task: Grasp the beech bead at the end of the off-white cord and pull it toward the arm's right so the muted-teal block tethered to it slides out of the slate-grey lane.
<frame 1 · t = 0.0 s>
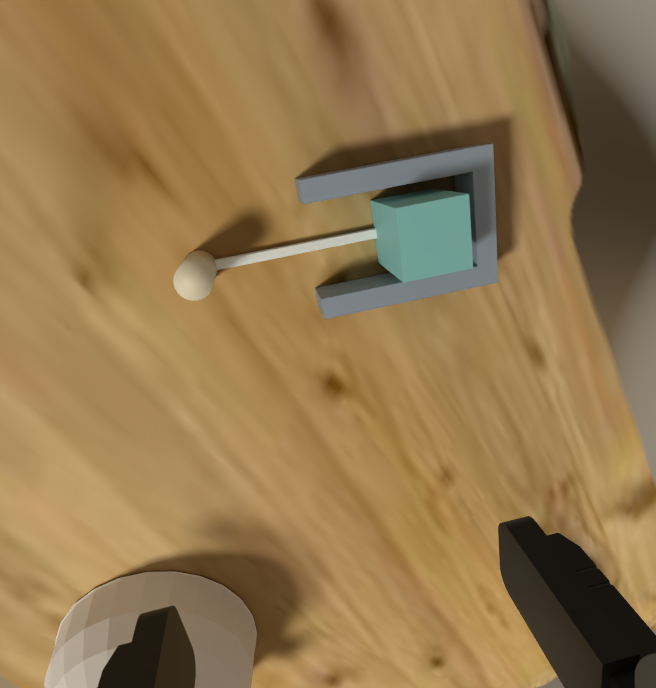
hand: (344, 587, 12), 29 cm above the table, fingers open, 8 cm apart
tethered block: (404, 226, 38), on the table
lane: (392, 228, 38), on the table
kettle: (161, 640, 51), on the table
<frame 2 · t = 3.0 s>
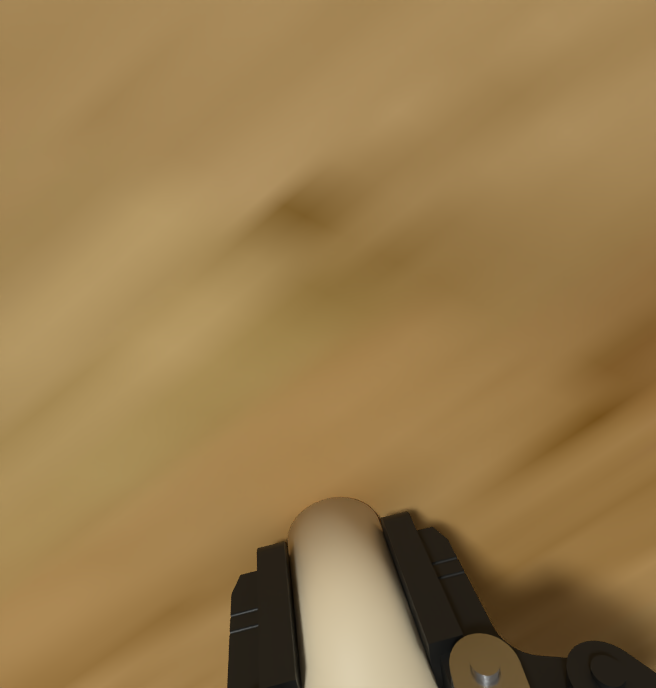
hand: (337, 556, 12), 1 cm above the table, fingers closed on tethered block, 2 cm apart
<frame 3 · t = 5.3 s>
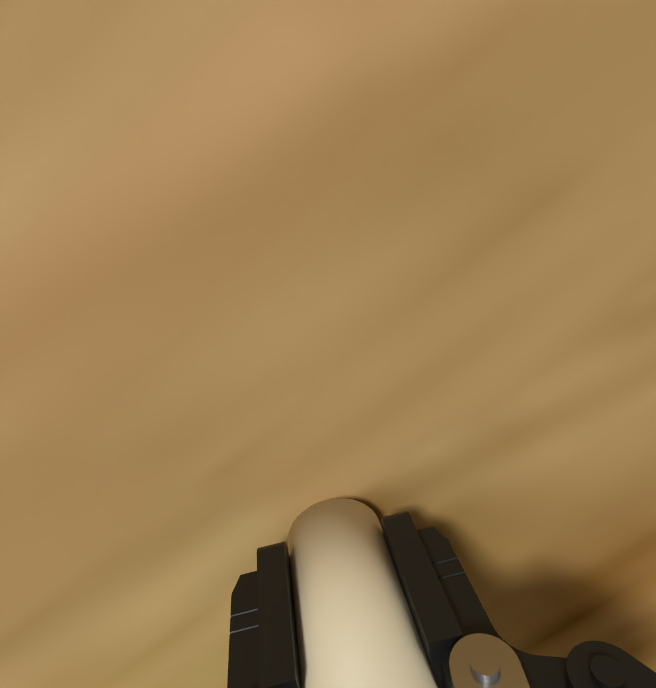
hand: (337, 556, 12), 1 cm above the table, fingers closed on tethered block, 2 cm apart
when the fingers open (1 cm above the table, at t = 7.5 s): tethered block stays where it is, on the table.
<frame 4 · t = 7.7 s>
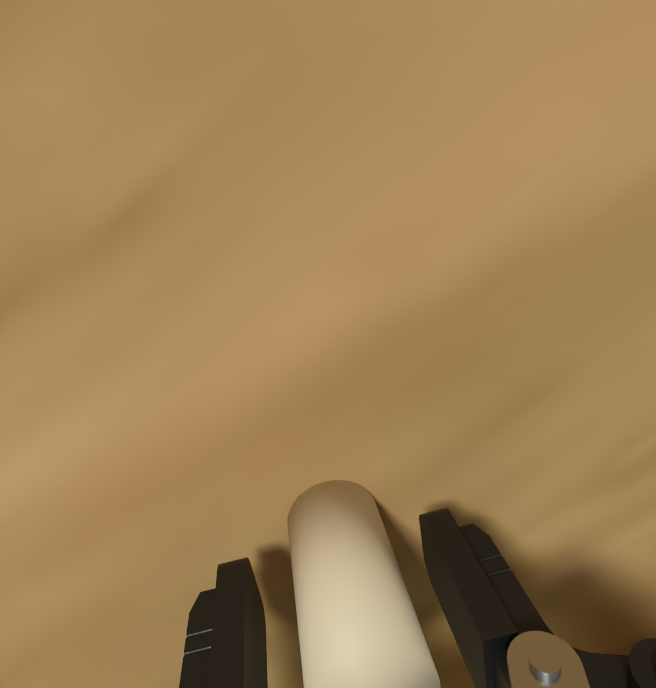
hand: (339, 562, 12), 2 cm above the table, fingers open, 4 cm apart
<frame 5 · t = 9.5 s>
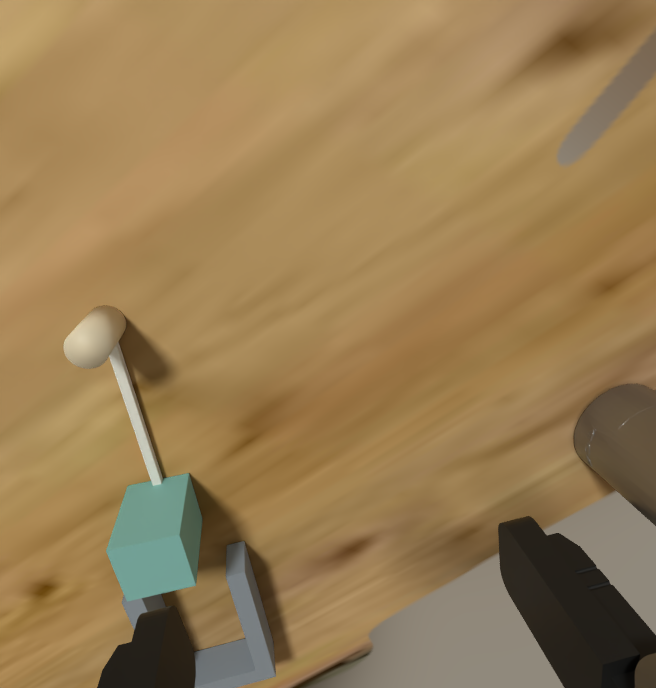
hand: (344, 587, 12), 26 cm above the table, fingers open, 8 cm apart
tethered block: (166, 502, 40), on the table
lane: (207, 608, 46), on the table
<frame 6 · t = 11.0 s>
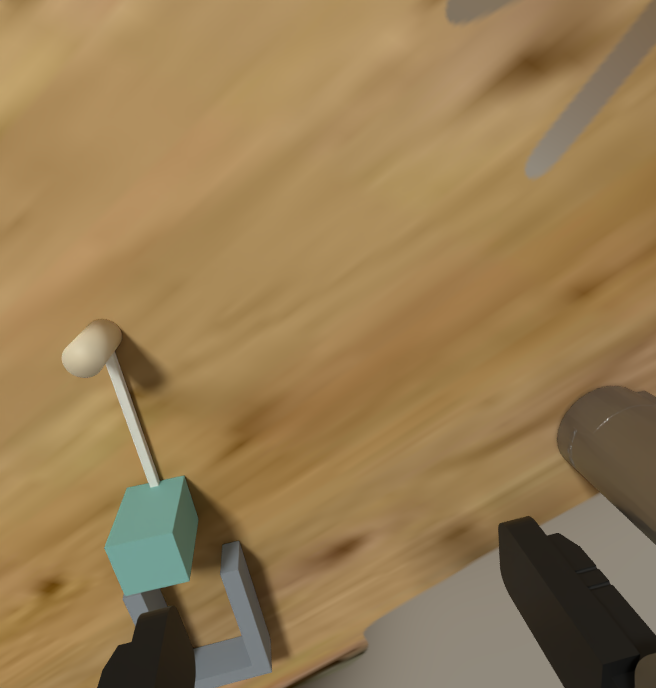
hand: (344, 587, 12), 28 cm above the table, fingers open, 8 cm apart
tethered block: (163, 504, 43), on the table
lane: (205, 605, 48), on the table
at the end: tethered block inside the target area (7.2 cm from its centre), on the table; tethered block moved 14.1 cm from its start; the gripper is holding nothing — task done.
